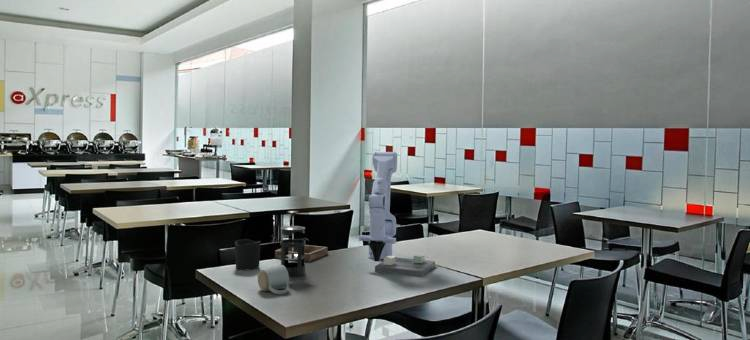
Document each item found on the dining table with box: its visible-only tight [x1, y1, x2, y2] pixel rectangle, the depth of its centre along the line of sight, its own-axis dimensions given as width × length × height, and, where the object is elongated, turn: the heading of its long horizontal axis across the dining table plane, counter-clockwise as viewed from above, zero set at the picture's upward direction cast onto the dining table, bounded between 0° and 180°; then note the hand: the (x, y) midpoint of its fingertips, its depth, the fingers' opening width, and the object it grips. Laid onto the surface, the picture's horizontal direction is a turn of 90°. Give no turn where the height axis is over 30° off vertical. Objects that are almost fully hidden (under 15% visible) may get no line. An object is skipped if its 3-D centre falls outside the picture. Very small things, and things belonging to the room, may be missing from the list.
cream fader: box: [383, 256, 397, 265], centre depth 210 cm, size 3×4×2 cm, turn 158°
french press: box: [280, 210, 307, 278], centre depth 202 cm, size 12×9×23 cm
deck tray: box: [274, 244, 329, 262], centre depth 233 cm, size 16×16×3 cm
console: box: [374, 256, 436, 278], centre depth 212 cm, size 18×18×2 cm
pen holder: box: [234, 239, 261, 271], centre depth 211 cm, size 9×9×10 cm
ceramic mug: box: [257, 264, 290, 295], centre depth 179 cm, size 11×8×8 cm
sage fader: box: [412, 253, 426, 263], centre depth 214 cm, size 3×4×2 cm, turn 158°
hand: (377, 260), depth 212 cm, fingers closed
